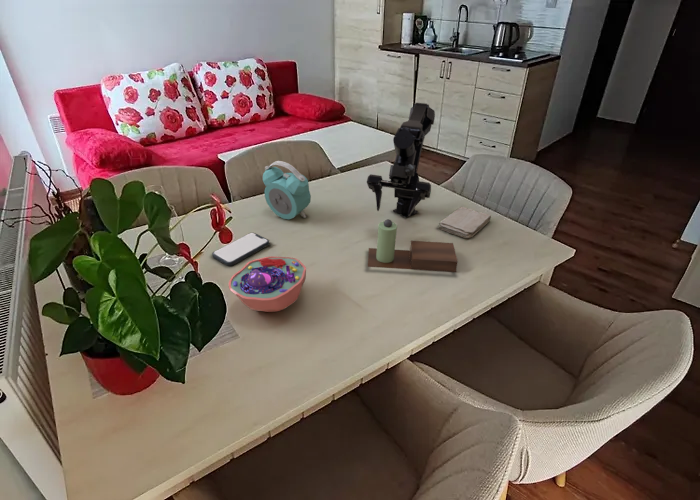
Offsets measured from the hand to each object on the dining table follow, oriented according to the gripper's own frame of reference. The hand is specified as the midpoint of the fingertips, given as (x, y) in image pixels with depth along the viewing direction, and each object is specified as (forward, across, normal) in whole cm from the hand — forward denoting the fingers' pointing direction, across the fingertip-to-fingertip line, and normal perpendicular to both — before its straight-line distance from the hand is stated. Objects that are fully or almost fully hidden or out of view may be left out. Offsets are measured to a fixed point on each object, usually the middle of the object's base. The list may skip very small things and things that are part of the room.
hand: (393, 213), depth 127 cm
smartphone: (+20, -43, -1) cm, 47 cm away
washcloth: (-8, +21, +26) cm, 34 cm away
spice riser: (+13, +7, +5) cm, 16 cm away
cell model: (+34, -24, -15) cm, 44 cm away
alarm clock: (+2, -38, +17) cm, 42 cm away
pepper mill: (+13, 0, +3) cm, 13 cm away
